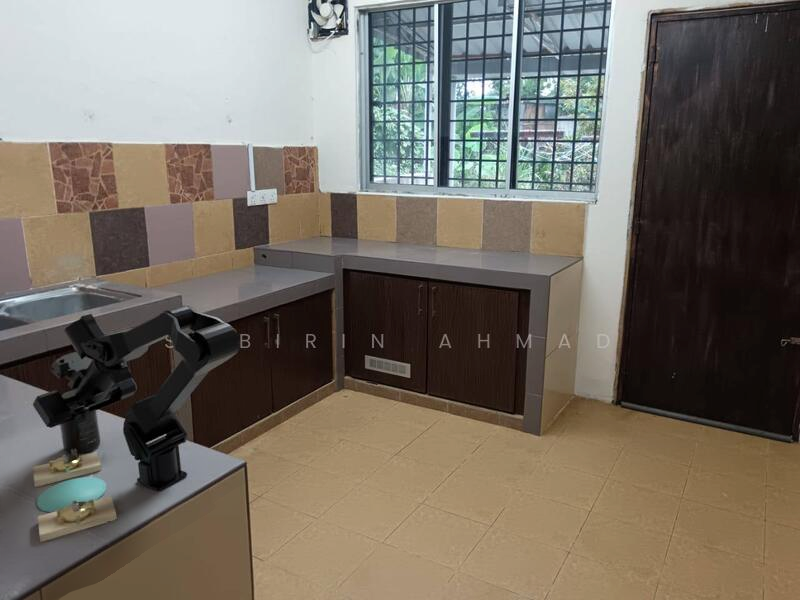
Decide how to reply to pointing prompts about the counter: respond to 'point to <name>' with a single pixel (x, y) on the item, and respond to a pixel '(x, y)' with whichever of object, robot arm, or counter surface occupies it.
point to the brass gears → (76, 509)
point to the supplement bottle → (80, 429)
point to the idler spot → (71, 493)
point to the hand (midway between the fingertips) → (73, 416)
